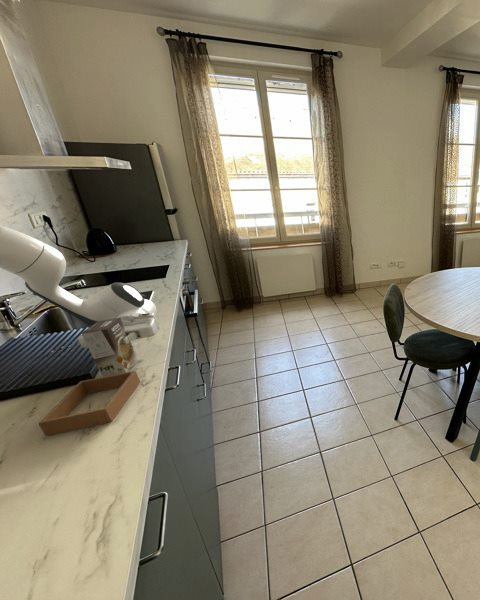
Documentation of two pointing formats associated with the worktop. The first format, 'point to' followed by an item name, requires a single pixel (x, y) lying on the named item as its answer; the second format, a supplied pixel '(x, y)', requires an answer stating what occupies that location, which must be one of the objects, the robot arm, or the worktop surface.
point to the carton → (64, 422)
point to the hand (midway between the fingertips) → (108, 344)
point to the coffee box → (110, 347)
